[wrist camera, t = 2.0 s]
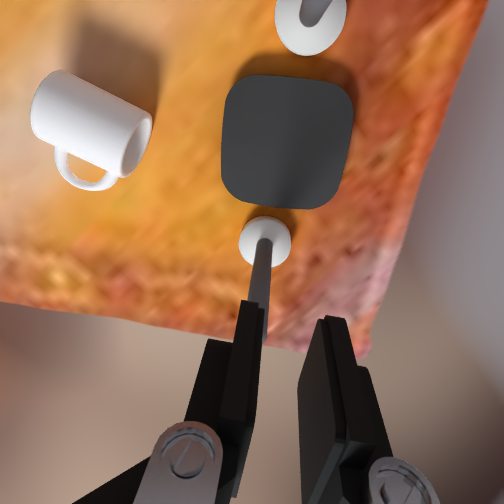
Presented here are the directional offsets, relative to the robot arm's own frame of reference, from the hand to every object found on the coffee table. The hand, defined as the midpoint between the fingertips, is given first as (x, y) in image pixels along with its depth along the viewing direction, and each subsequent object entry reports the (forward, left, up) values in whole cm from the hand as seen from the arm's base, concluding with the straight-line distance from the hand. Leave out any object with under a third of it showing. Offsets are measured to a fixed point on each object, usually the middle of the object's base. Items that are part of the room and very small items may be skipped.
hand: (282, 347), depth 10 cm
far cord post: (+13, 0, -35) cm, 37 cm away
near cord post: (-13, 0, -35) cm, 37 cm away
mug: (+3, -22, -35) cm, 42 cm away
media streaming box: (0, 0, -36) cm, 36 cm away
